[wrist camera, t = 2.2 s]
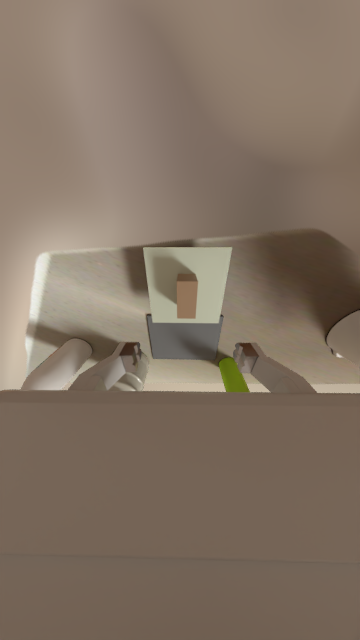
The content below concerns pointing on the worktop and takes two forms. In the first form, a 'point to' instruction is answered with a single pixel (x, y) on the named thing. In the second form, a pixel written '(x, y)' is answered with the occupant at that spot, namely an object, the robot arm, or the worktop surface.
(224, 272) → the cover
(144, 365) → the jar
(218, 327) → the mat
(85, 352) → the milk bottle
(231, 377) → the soap dispenser
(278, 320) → the worktop surface
